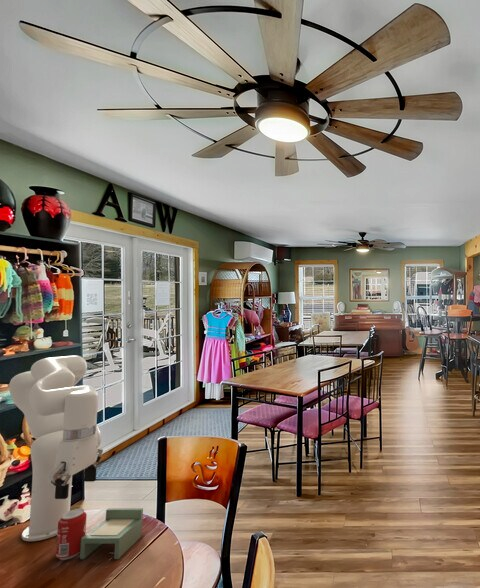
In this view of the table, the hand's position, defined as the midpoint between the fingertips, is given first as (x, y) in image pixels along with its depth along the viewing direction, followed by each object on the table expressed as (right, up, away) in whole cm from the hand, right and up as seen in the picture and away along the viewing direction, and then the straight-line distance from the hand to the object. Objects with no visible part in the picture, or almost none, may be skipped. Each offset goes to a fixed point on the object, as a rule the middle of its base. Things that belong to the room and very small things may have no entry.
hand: (76, 489), depth 103 cm
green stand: (+9, -20, +3) cm, 21 cm away
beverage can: (-1, -19, -1) cm, 19 cm away
